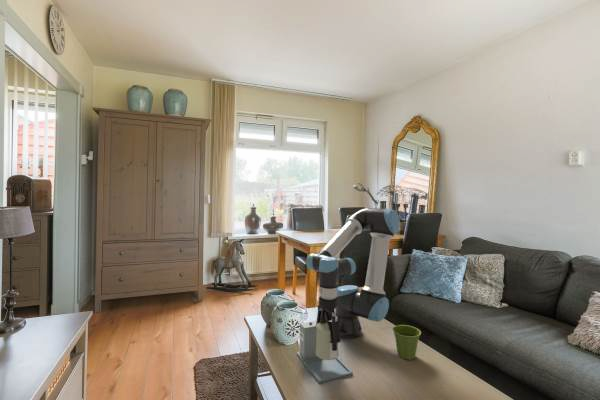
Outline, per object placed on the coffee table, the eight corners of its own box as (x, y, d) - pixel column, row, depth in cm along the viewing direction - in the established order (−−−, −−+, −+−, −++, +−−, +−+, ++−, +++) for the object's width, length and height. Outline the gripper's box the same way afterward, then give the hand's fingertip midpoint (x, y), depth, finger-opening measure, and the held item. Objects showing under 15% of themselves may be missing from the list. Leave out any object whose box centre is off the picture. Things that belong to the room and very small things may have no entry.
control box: (317, 349, 143) (317, 317, 142) (324, 357, 136) (324, 324, 136) (296, 354, 139) (296, 321, 138) (303, 362, 132) (303, 328, 132)
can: (323, 362, 121) (324, 331, 120) (311, 351, 129) (312, 322, 128) (343, 356, 125) (343, 327, 124) (330, 346, 133) (331, 318, 133)
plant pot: (424, 355, 138) (425, 330, 138) (413, 366, 130) (414, 339, 129) (399, 346, 146) (399, 322, 146) (387, 355, 138) (387, 330, 137)
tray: (334, 356, 137) (334, 353, 137) (352, 375, 123) (352, 372, 123) (303, 363, 131) (303, 361, 131) (319, 383, 118) (319, 380, 117)
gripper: (308, 289, 134) (307, 341, 135) (333, 307, 115) (332, 367, 115) (324, 287, 137) (323, 338, 138) (350, 304, 118) (349, 363, 118)
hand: (327, 351), depth 127 cm, fingers closed on can, 9 cm apart
